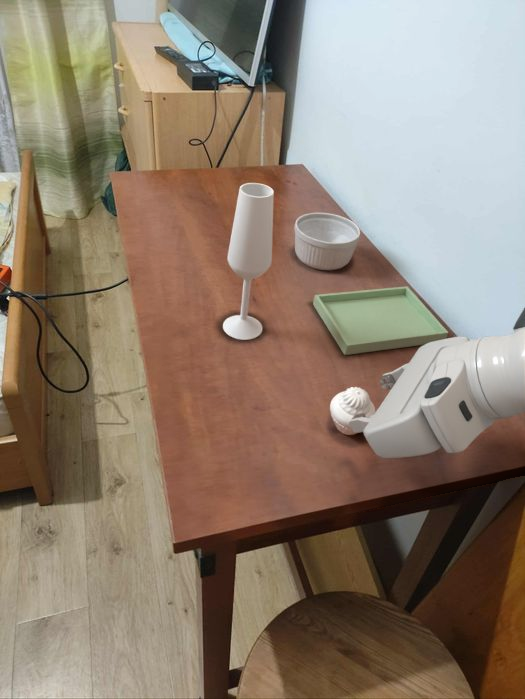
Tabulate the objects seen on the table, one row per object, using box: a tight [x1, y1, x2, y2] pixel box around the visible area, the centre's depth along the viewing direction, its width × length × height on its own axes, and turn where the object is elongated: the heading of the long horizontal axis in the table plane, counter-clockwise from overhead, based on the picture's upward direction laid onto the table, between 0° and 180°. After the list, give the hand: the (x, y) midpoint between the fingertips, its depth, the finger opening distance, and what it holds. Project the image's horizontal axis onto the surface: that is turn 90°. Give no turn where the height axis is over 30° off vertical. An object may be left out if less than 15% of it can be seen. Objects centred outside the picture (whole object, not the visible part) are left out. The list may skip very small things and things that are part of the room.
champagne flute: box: [222, 182, 275, 341], centre depth 78 cm, size 7×7×24 cm
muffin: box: [329, 386, 376, 436], centre depth 69 cm, size 6×6×7 cm
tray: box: [312, 285, 449, 356], centre depth 90 cm, size 19×14×2 cm
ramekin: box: [293, 212, 361, 271], centre depth 104 cm, size 13×13×7 cm
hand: (368, 402), depth 66 cm, fingers open, 8 cm apart
